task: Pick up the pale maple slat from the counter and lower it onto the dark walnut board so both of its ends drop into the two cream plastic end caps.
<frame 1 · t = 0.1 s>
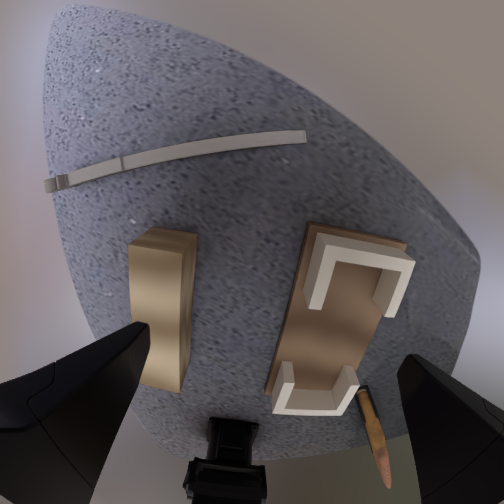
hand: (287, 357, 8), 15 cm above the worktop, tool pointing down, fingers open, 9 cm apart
maple slat: (172, 301, 25), on the worktop
end caps: (334, 342, 22), on the walnut board, point 2 cm above the worktop
walnut board: (329, 326, 25), on the worktop
ammunition clip: (365, 407, 30), on the worktop
caliper: (176, 154, 20), on the worktop
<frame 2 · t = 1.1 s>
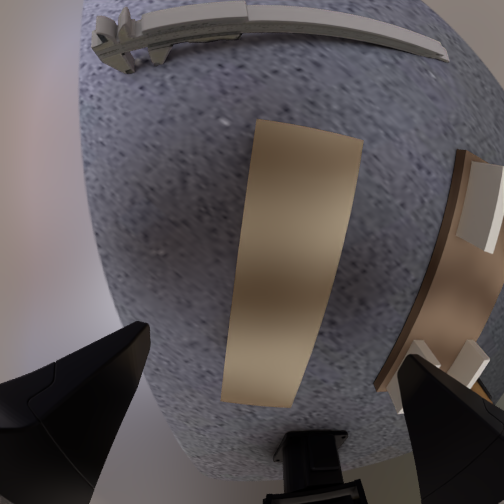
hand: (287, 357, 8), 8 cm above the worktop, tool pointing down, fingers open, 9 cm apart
maple slat: (274, 259, 16), on the worktop
end caps: (479, 305, 14), on the walnut board, point 2 cm above the worktop
walnut board: (461, 290, 16), on the worktop
caliper: (301, 39, 12), on the worktop
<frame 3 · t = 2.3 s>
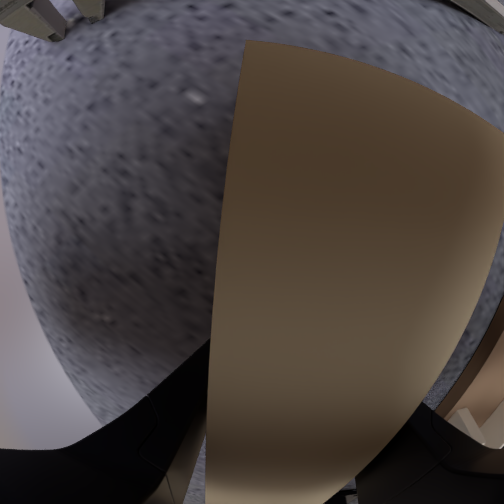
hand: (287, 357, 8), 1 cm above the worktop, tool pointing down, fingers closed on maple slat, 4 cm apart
maple slat: (284, 336, 9), on the worktop, touching gripper
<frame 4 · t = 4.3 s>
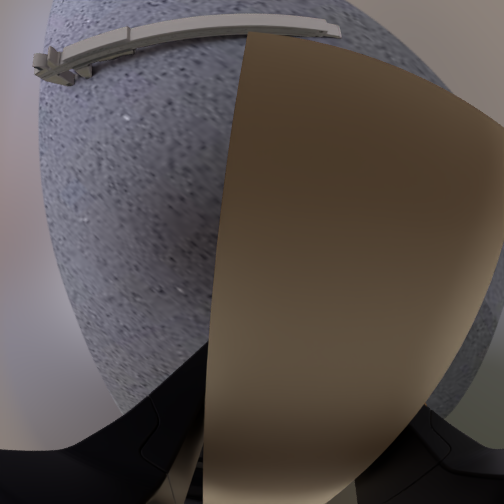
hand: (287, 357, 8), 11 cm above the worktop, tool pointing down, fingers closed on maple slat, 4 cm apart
maple slat: (284, 336, 9), point 10 cm above the worktop, touching gripper
caliper: (191, 43, 14), on the worktop
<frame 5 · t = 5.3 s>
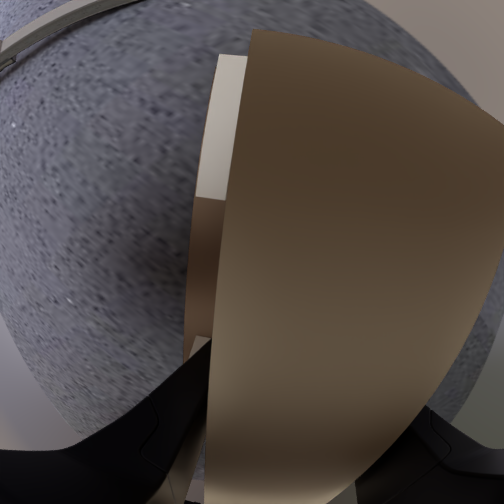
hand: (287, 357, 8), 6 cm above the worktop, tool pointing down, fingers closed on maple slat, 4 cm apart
maple slat: (285, 336, 9), point 5 cm above the worktop, touching gripper
end caps: (281, 298, 12), on the walnut board, point 2 cm above the worktop
walnut board: (278, 274, 14), on the worktop
caliper: (66, 36, 10), on the worktop
when the fingers open (3 cm above the worktop, at t = 6.2 s): maple slat drops 1 cm, resting on walnut board.
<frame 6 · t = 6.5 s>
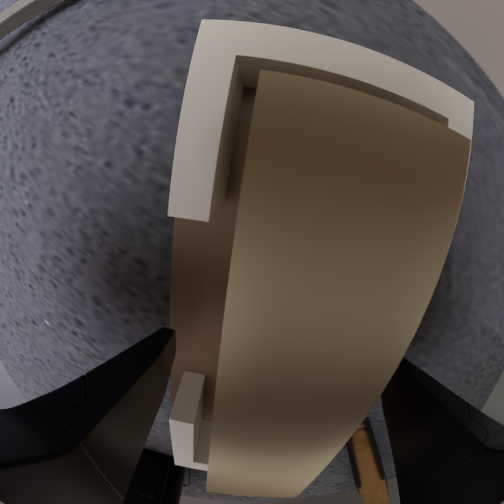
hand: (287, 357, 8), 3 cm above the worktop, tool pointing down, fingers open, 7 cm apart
maple slat: (282, 314, 10), point 1 cm above the worktop, touching walnut board
end caps: (285, 338, 9), on the walnut board, point 2 cm above the worktop
walnut board: (281, 302, 11), on the worktop
ammunition clip: (363, 446, 16), on the worktop
caliper: (41, 26, 7), on the worktop
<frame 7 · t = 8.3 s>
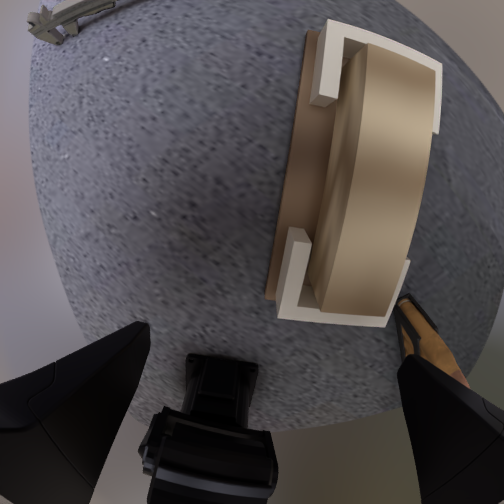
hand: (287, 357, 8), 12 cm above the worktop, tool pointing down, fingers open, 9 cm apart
maple slat: (356, 176, 16), point 1 cm above the worktop, touching walnut board
end caps: (364, 179, 15), on the walnut board, point 2 cm above the worktop
walnut board: (352, 175, 17), on the worktop
ammunition clip: (406, 338, 22), on the worktop
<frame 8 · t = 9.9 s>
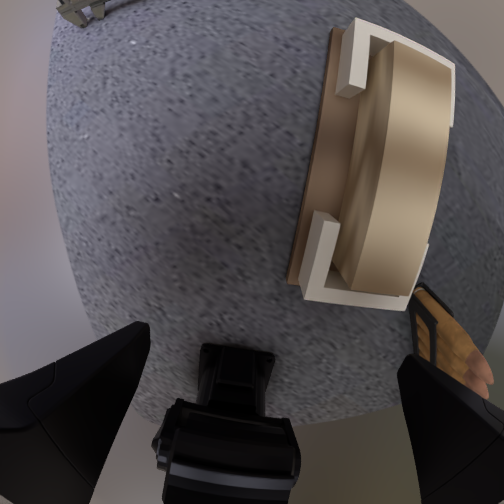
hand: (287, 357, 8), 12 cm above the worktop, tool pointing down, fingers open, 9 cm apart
maple slat: (377, 164, 16), point 1 cm above the worktop, touching walnut board
end caps: (387, 166, 15), on the walnut board, point 2 cm above the worktop
walnut board: (372, 164, 17), on the worktop
ammunition clip: (419, 328, 22), on the worktop
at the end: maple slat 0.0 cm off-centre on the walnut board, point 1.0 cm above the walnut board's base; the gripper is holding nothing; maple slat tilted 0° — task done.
